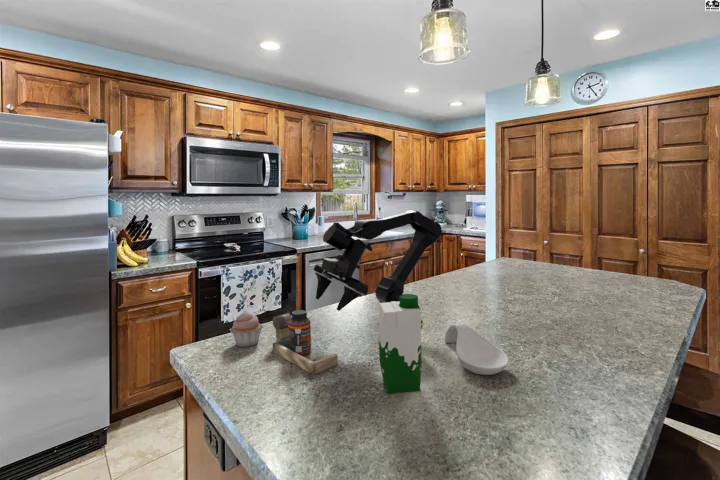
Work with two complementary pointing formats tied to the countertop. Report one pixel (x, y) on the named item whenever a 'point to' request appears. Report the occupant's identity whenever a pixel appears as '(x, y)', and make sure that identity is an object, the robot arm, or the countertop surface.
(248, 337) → the cupcake
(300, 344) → the supplement bottle
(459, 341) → the spoon rest
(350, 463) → the countertop surface
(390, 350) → the milk carton
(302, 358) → the frame
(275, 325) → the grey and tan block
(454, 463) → the countertop surface
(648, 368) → the countertop surface
